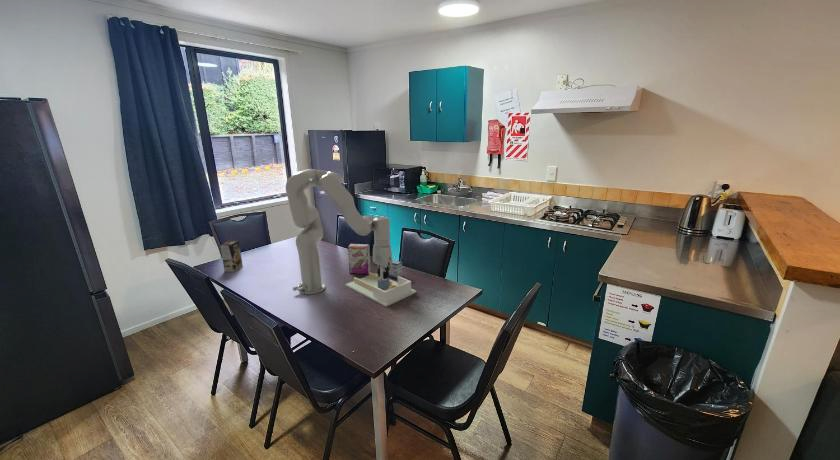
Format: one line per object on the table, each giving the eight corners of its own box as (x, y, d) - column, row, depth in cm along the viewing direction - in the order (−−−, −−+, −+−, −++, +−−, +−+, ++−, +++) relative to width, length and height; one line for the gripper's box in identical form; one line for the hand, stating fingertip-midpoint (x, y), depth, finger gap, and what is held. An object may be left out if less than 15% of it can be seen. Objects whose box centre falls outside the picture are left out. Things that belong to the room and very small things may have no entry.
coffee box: (235, 271, 198) (230, 245, 193) (224, 271, 198) (219, 245, 193) (243, 265, 206) (239, 240, 202) (232, 265, 206) (228, 240, 202)
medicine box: (386, 276, 191) (385, 261, 189) (390, 273, 195) (390, 259, 193) (398, 278, 188) (397, 264, 186) (402, 276, 192) (402, 261, 189)
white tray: (385, 306, 158) (385, 295, 157) (345, 285, 180) (344, 275, 178) (416, 292, 172) (416, 281, 170) (375, 274, 193) (375, 264, 192)
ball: (394, 294, 164) (391, 285, 165) (389, 296, 168) (386, 287, 168) (401, 291, 168) (398, 283, 168) (396, 293, 171) (393, 284, 171)
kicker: (381, 291, 170) (380, 262, 166) (377, 289, 172) (376, 260, 168) (390, 287, 174) (389, 259, 170) (386, 285, 177) (385, 257, 172)
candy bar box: (349, 273, 195) (347, 246, 190) (351, 270, 200) (350, 243, 195) (368, 274, 194) (367, 246, 189) (370, 271, 198) (369, 244, 194)
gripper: (365, 240, 169) (367, 274, 175) (387, 248, 159) (388, 284, 164) (377, 237, 175) (378, 270, 180) (399, 244, 164) (400, 279, 169)
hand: (383, 276), depth 172 cm, fingers closed on kicker, 3 cm apart
